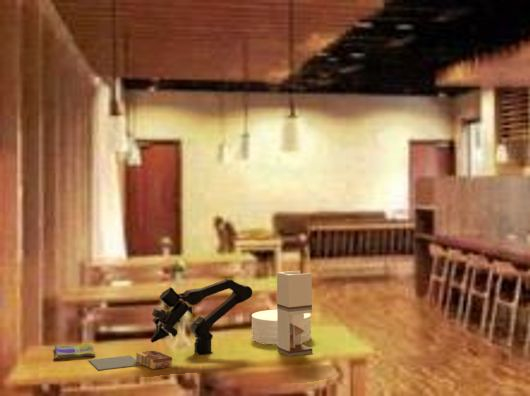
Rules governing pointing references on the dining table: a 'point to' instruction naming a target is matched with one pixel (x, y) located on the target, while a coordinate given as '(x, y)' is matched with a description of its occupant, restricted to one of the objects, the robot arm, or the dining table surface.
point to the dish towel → (74, 352)
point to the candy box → (154, 359)
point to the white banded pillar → (293, 310)
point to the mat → (114, 362)
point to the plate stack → (274, 327)
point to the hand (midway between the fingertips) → (151, 341)
